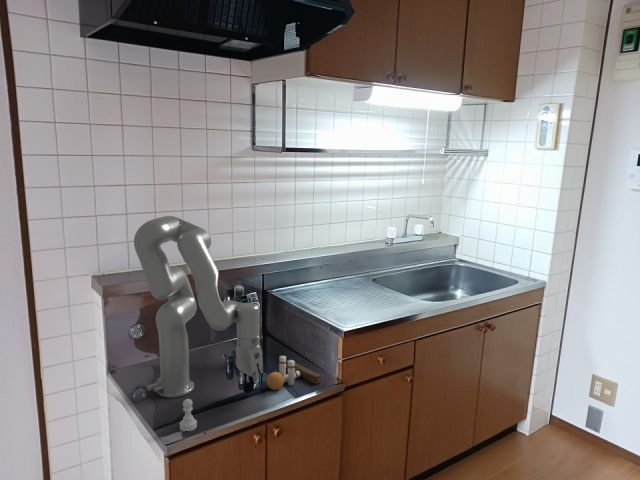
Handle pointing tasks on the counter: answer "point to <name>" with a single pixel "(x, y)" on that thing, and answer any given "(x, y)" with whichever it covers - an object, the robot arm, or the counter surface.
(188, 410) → the chess pawn
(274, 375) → the ball
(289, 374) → the pin
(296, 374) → the front pin
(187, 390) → the robot arm
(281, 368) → the pin
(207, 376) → the counter surface
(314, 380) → the back rail
